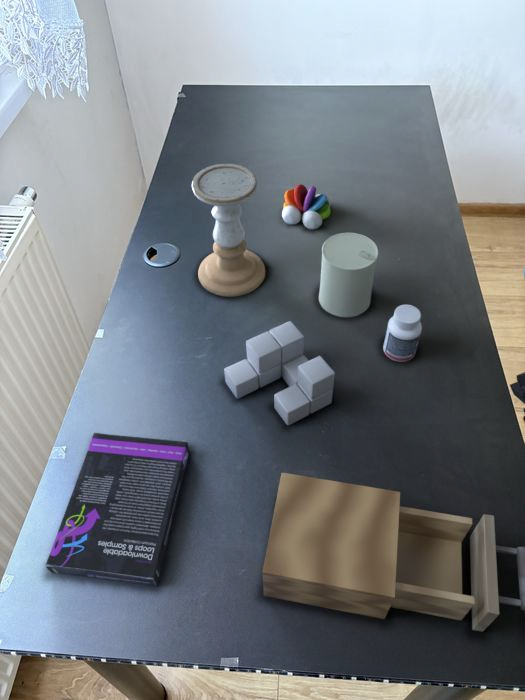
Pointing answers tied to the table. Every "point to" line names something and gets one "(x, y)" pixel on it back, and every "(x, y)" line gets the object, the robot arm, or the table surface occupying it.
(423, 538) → the drawer
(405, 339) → the pill bottle
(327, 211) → the rainbow petal toy
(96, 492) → the box
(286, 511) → the cabinet
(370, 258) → the can
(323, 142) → the table surface
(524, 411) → the robot arm
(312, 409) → the grey cube puzzle piece
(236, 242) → the candle holder
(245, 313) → the table surface
